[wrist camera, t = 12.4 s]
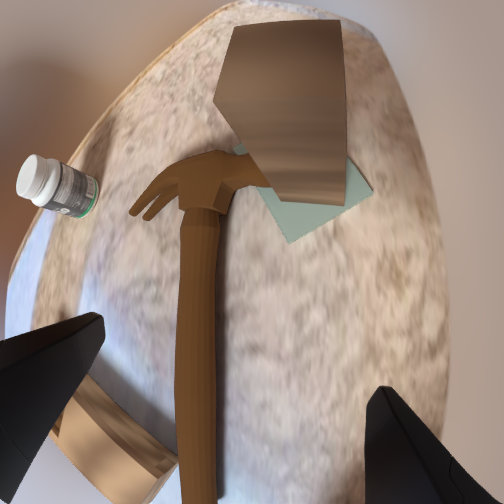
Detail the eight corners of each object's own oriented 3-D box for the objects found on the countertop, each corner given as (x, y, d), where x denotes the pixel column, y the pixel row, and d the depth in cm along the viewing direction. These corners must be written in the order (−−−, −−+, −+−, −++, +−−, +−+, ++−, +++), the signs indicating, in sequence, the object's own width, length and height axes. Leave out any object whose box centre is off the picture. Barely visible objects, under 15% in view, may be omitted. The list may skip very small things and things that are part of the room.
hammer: (254, 514, 17) (282, 157, 21) (241, 534, 14) (269, 137, 18) (146, 474, 22) (156, 172, 25) (126, 486, 19) (134, 160, 22)
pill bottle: (67, 209, 28) (10, 189, 20) (86, 172, 28) (30, 144, 20) (86, 226, 27) (22, 207, 19) (106, 186, 27) (44, 156, 19)
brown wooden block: (344, 206, 19) (344, 98, 8) (281, 201, 21) (212, 101, 9) (346, 148, 20) (340, 19, 8) (287, 146, 21) (234, 26, 10)
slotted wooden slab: (183, 456, 20) (159, 476, 16) (151, 501, 20) (130, 518, 17) (61, 339, 26) (34, 341, 22) (48, 395, 26) (24, 400, 22)
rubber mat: (373, 194, 19) (373, 192, 19) (289, 244, 20) (288, 243, 20) (307, 108, 22) (306, 105, 21) (234, 150, 23) (232, 148, 22)
